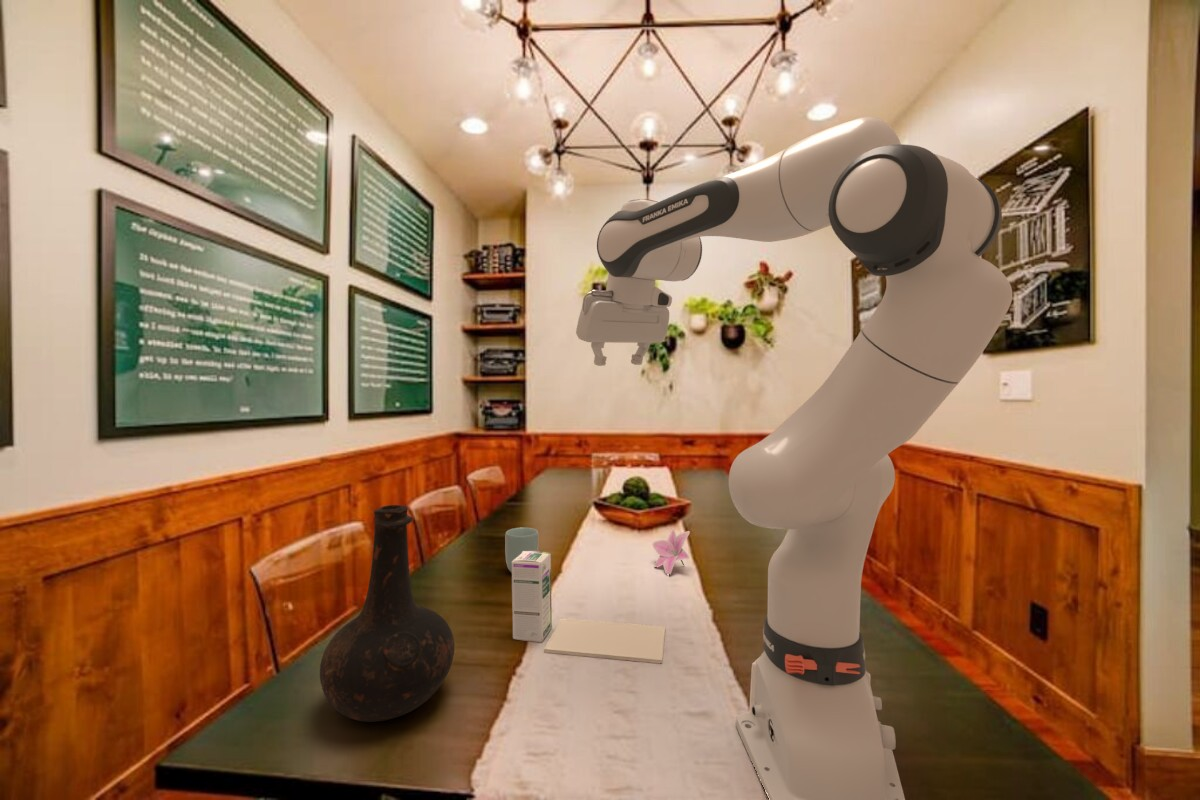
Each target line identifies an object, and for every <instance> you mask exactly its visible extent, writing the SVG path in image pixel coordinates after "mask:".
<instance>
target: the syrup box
mask: <svg viewBox="0 0 1200 800" xmlns="http://www.w3.org/2000/svg"><path fill="white" fill-rule="evenodd" d="M551 556H552V555H551V552H548V551H540V550H538V551H523V552H522V553H521V554H520V555H519V556H517V557H516V558H515V559H514V560H513V561H512V572H511V604H512V605H511V607H512V608H511V611H512V613H511V614H512V618H511V619H512V639H513V640H517V641H524V642H536V643H542V642H543V641H544V640H545V638H546V637H547V636H548V635H549V632H550V631H551V629H552V627H553V622H552V621H553V619H552V613H553V612H552V611H553V610H552V607H553V606H552V564H551V563H552V559H551V558H552V557H551Z"/></svg>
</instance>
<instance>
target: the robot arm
mask: <svg viewBox="0 0 1200 800" xmlns="http://www.w3.org/2000/svg"><path fill="white" fill-rule="evenodd" d="M1002 214H1003V212H1002V206H1001V204H1000V201H999V199H998V197H997V195H996V193H995V192H994V190H993V189H992V188H991V186H990V185H988V184H987V183H986V182H984V181H983V180H981V179H979V178H977V177H975V176H974V175H973V174H972V173H970V172H969V170H968V169H967V168H966V167H964V165H961V164H960V163H959V162H957V161H954V160H952V159H950V158H949V157H945V156H943V155H939V154H938V153H934V152H932V151H931V150H929V149H927V148H925V147H923V146H922V147H921V146H919V145H913V144H903V143H901V141H900V139H899V136H898V135H897V133H896V131H895V130H894V128H892V127H891V126H890V124H888V122H886V121H884V120H883V119H881V118H877V117H875V116H862V117H858V118H855V119H852V120H849V121H846V122H842V123H839V124H837V125H834V126H831V127H829V128H828V127H827V128H826V129H823V130H820V131H819V132H816V133H814V134H811V135H809V136H808V137H805V138H803V139H801V140H799V141H797V142H795V143H793V144H792V145H790V146H788V147H786V148H784V149H782V150H781V151H779V152H777V153H775V154H773V155H770V156H768V157H767V158H764V159H762V160H760V161H757V162H755V163H753V164H751V165H749V166H747V167H744V168H742V169H738V170H737V171H734V172H732V173H728V174H726V175H723V176H720V177H717V178H714V179H712V180H708V181H706V182H703V183H699V184H696V185H695V186H692V187H690V188H687V189H685V190H683V191H680V192H679V193H676V194H674V195H672V196H671V195H670V197H667V198H665V199H663V200H660V201H656V200H653V199H645V198H644V199H640V198H639V199H632V200H629V201H626V202H625V203H624V204H622V206H621V209H620V210H618V211H617V212H615V213H614V214H613V215H611V217H609V218H608V219H607V220H606V222H605V223H603V225H602V227H601V229H600V230H599V232H598V235H597V240H596V249H597V251H596V252H597V254H598V258H599V260H600V262H601V264H602V266H603V268H604V269H605V270H606V271H607V272H608V275H607V281H606V287H605V288H606V289H605V290H599V289H591V290H590V291H588V292H587V293H586V294H585V295H584V296H583V298H582V303H581V304H582V305H581V309H580V312H579V316H578V320H577V323H576V324H577V326H576V330H575V334H576V336H577V339H579V340H581V341H583V342H587V343H591V344H590V346H591V349H592V353H593V354H594V359H593V363H594V365H595V366H598V367H601V366H602V367H603V366H606V364H607V363H606V362H607V358H608V357H607V356H605V355H604V354H603V350H602V349H604V348H605V343H614V344H616V343H617V344H618V343H630V344H631V343H632V344H634V343H635V344H636V343H637V344H636V346H637V347H638V348H637V349H636V352H635V353H634V354H632V355H631V360H630V363H631V364H632V365H635V366H637V365H639V366H640V365H642V364H643V361H644V357H645V355H646V354H647V352H648V351H649V349H650V347H651V346H650V345H651V344H661V343H662V342H664V340H665V339H666V337H667V333H668V328H669V321H670V310H669V307H671V305H672V302H673V297H672V296H671V294H669V293H667V292H666V291H664V290H661V288H659V287H657V286H656V281H665V282H680V281H681V282H682V281H683V282H684V281H686V280H688V279H689V278H690V277H692V276H693V275H694V273H695V272H696V271H697V270H698V268H699V266H700V263H701V261H702V256H703V243H702V239H701V238H702V237H724V238H733V239H740V240H741V239H742V240H748V241H753V242H763V243H765V242H767V243H772V242H773V243H774V242H780V241H786V240H792V239H796V238H800V237H804V236H807V235H809V234H812V233H814V232H817V231H820V230H822V229H824V228H827V227H830V226H831V229H832V230H833V232H834V234H835V235H836V236H837V238H838V239H839V241H841V243H842V244H843V245H844V246H845V247H846V248H847V249H848V250H849V251H850V252H851V253H852V254H853V255H854V256H855V257H856V258H857V259H858V260H859V262H860V263H861V264H862V265H863V267H864V268H865V269H866V270H867V271H868V273H869V274H871V275H872V276H875V277H885V280H886V284H885V286H886V288H885V292H884V294H883V297H882V299H881V301H880V302H879V304H878V305H877V308H876V309H875V311H874V312H873V313H872V315H871V316H870V317H869V319H868V320H867V321H866V323H865V325H864V326H863V327H862V329H861V330H860V332H859V333H858V335H857V337H856V338H855V339H854V340H853V342H852V343H851V345H850V346H849V347H848V349H847V350H846V352H845V353H844V355H843V356H842V358H841V359H840V361H838V363H837V365H836V366H835V368H834V369H833V371H831V373H830V375H829V376H828V378H827V379H826V380H825V381H824V382H823V384H822V385H821V386H820V387H819V388H818V389H817V390H816V391H815V392H814V393H813V394H812V395H811V396H810V397H809V398H808V399H807V400H806V401H804V403H803V404H802V405H800V407H798V408H797V409H796V410H795V411H793V413H792V414H790V415H789V417H787V418H786V420H784V421H782V423H780V425H779V426H778V427H777V428H775V429H774V430H773V431H772V432H771V433H769V434H768V435H767V436H766V437H764V438H763V439H762V440H760V441H759V442H756V443H755V444H754V445H751V446H749V447H747V448H746V449H744V450H743V451H742V452H740V453H739V454H738V455H737V456H736V457H735V459H734V460H733V462H732V463H731V465H730V466H731V467H730V469H729V473H728V490H729V495H730V498H731V501H732V503H733V505H734V507H735V508H736V510H737V512H738V513H739V514H740V516H741V517H742V518H743V519H744V520H746V521H747V522H749V523H750V524H752V525H754V526H756V527H758V528H767V529H775V530H787V531H786V533H785V536H784V538H783V540H782V542H781V543H780V545H778V546H779V547H778V548H777V549H776V550H775V551H774V552H773V554H772V555H771V558H770V560H769V562H768V567H767V568H768V569H767V615H766V617H765V618H764V621H763V628H762V639H763V652H762V653H761V654H760V656H759V657H758V658H757V659H755V660H754V662H752V663H751V664H752V665H751V671H750V673H751V675H750V692H749V694H750V695H749V710H746V711H743V712H741V713H739V714H738V715H737V716H736V717H735V718H736V719H735V728H736V730H737V731H738V733H739V737H740V738H741V740H742V743H743V746H744V748H745V749H746V752H747V755H748V757H749V759H750V761H752V762H751V764H752V763H753V764H752V767H753V768H754V767H755V769H754V771H755V770H756V771H757V773H758V775H759V778H760V779H761V782H762V784H763V786H764V788H765V790H766V792H767V793H768V796H769V798H770V800H906V798H905V795H904V789H903V787H902V783H901V779H900V775H899V771H898V766H897V763H896V759H895V755H894V752H893V750H895V749H896V747H897V746H896V745H897V744H896V743H897V742H896V732H895V728H894V727H893V726H891V725H886V724H882V722H881V721H879V719H878V716H877V712H876V711H877V710H878V711H881V710H882V709H883V702H882V698H881V697H878V696H875V695H874V694H873V691H872V687H871V686H872V685H871V673H870V672H868V670H866V668H867V667H866V650H865V646H864V639H863V635H862V633H861V631H860V624H861V623H860V618H861V593H862V592H861V589H862V577H863V570H864V565H865V561H866V556H867V553H868V549H869V545H870V542H871V539H872V535H873V532H874V528H875V526H876V525H875V524H876V521H877V518H878V515H879V513H880V511H881V508H882V506H883V504H884V503H885V501H886V500H887V498H888V497H889V496H890V494H891V493H892V492H893V489H894V485H895V481H896V472H895V471H896V470H895V467H894V464H893V461H892V459H891V457H890V456H889V454H890V453H891V452H892V451H894V450H896V449H897V448H899V447H900V446H902V445H904V444H906V443H907V442H908V441H910V440H911V439H912V438H914V436H915V435H916V434H917V433H918V432H919V430H920V429H921V428H922V427H923V426H924V424H925V423H926V422H927V421H928V420H929V419H930V417H931V416H932V415H933V414H934V412H936V410H937V409H939V407H940V406H941V405H942V404H943V402H944V401H945V400H946V399H947V398H948V396H949V395H951V393H952V392H953V391H954V389H955V388H957V386H958V385H959V383H960V382H961V381H962V380H963V379H964V377H965V376H966V375H967V374H968V373H969V371H970V370H971V369H972V368H973V366H974V365H975V364H976V362H977V361H978V359H979V358H980V357H981V355H982V354H983V352H984V351H985V349H986V348H987V346H988V345H989V343H990V341H991V340H993V337H994V335H995V334H996V332H997V330H998V329H999V327H1000V325H1001V324H1002V322H1003V320H1004V318H1005V316H1006V314H1007V313H1008V310H1009V309H1010V307H1011V304H1012V301H1013V289H1012V288H1013V287H1012V285H1011V283H1010V281H1009V279H1008V278H1007V276H1006V275H1005V274H1004V272H1003V271H1002V270H1000V268H999V267H997V266H996V265H994V264H993V263H991V262H990V261H989V260H986V259H984V258H983V257H981V256H983V254H985V253H986V252H987V251H988V249H990V247H991V246H992V245H993V244H994V242H995V240H996V239H997V236H998V235H999V232H1000V229H1001V225H1002V218H1003V217H1002V216H1003V215H1002ZM756 771H755V772H756ZM757 773H756V774H757ZM758 775H757V776H758ZM759 778H758V779H759ZM761 782H760V783H761Z"/></svg>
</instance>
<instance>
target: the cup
mask: <svg viewBox="0 0 1200 800" xmlns="http://www.w3.org/2000/svg"><path fill="white" fill-rule="evenodd" d="M504 535H505V536H504V537H505V538H504V540H505V541H504V543H505V545H504V546H505V547H504V551H505V552H504V553H505V555H504V556H505V562H506V566H507V567H506V568H507V569H508V570H509V572H510V573H512V561H513V560H514V559H515V558H516V557H517V556H519V555H520V554H521V553H522V552H523V551H539V531H538V529H536V528H533V527H526V526H525V527H515V528H510V529H508V530H506V532H505V534H504Z"/></svg>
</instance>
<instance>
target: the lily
mask: <svg viewBox="0 0 1200 800" xmlns="http://www.w3.org/2000/svg"><path fill="white" fill-rule="evenodd" d="M690 533H691V531H690V530H687V531H684V532H682V533H681V532H680V533H679V534H678V535H677V534H676V532H675V529H674V528H672V529H671V530H670V532H669V534H668V537H667V539H661V540H655V541H654V542H652V544H651V545H652V548H653V549H654V550H655V553H657V555H659V557H658V558H657V559H656V561H655V563H654V566H656V567H657V568H659V567H661V566H663V569H664V573H665V574H666V573H667V574H670V575H671V574H672V572H673V568H674V566H675V563H676V561H680V562H681V565H682V566H683V565H684V566H685V564H684V562H683V560H684V561H685V560H688V559H689V558H690V556H689V555H688V553H687V552H686V550H685V549H684V548H683V546H684V544H685V542H686V540H687V539H688V537H689V535H690ZM654 566H653V567H654Z"/></svg>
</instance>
